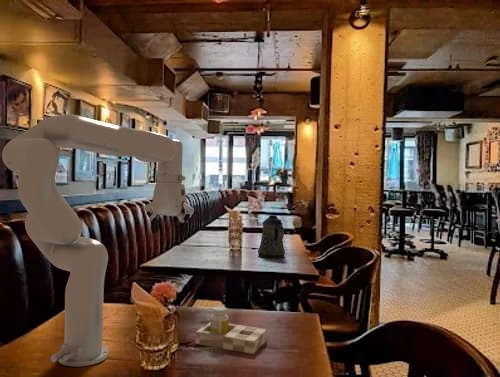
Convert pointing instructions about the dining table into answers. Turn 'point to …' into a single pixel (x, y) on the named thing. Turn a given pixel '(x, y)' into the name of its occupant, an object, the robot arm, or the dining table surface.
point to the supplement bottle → (219, 320)
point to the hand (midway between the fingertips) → (168, 233)
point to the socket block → (233, 338)
